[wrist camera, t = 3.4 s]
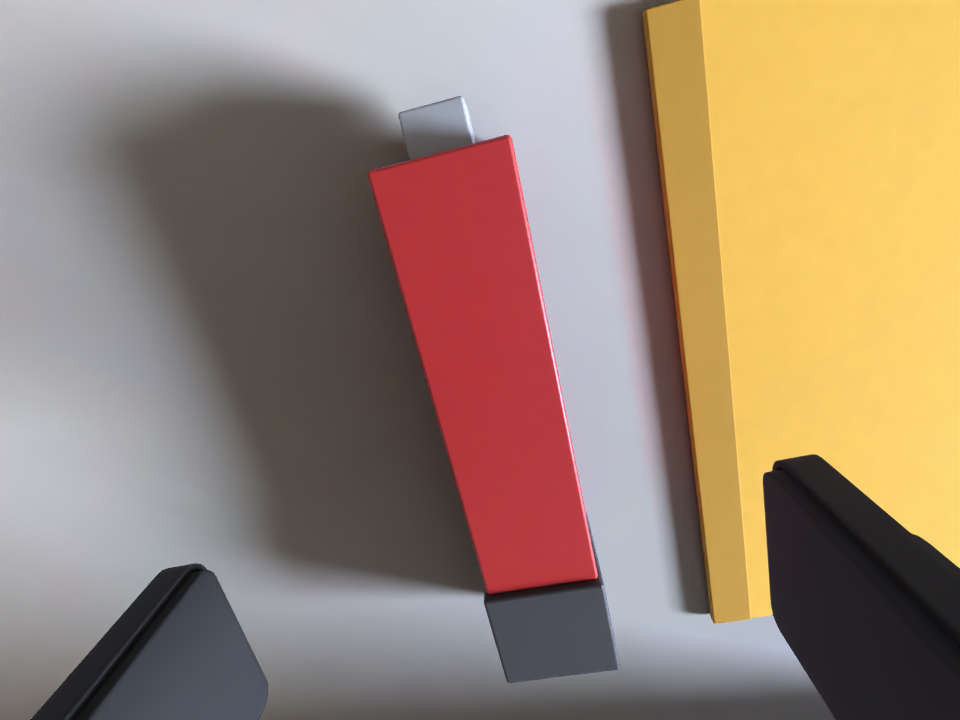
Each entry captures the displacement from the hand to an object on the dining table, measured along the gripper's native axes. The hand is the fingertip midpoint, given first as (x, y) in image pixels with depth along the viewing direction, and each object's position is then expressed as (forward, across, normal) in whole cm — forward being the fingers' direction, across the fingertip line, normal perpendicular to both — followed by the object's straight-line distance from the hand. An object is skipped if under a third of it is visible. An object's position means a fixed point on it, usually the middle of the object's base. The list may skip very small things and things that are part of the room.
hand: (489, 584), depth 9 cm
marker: (+7, 0, 0) cm, 7 cm away
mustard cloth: (+7, -10, 0) cm, 12 cm away
